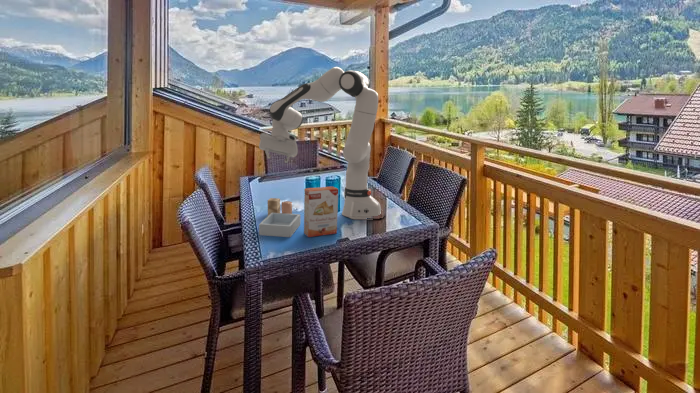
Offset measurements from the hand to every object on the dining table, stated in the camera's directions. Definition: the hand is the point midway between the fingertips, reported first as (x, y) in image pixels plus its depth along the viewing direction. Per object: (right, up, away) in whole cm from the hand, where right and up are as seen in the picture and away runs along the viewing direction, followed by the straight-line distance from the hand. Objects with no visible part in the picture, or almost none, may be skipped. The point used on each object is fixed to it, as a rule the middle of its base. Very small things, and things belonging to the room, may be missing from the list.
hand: (277, 160), depth 208 cm
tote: (+6, -34, -24) cm, 42 cm away
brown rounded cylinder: (+7, -30, -10) cm, 33 cm away
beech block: (-1, -28, -2) cm, 28 cm away
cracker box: (+24, -36, -28) cm, 52 cm away
